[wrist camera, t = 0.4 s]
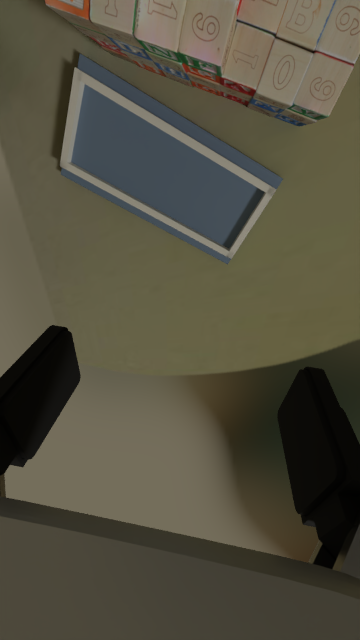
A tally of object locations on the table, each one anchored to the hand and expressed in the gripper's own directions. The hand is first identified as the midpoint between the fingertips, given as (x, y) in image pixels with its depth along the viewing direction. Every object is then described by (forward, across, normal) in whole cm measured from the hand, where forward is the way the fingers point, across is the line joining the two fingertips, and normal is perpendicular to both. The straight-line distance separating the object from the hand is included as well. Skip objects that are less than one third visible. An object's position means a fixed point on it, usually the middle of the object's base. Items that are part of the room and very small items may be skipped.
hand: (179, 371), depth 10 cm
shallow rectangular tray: (+28, +6, -4) cm, 29 cm away
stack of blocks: (+29, +2, -15) cm, 33 cm away
